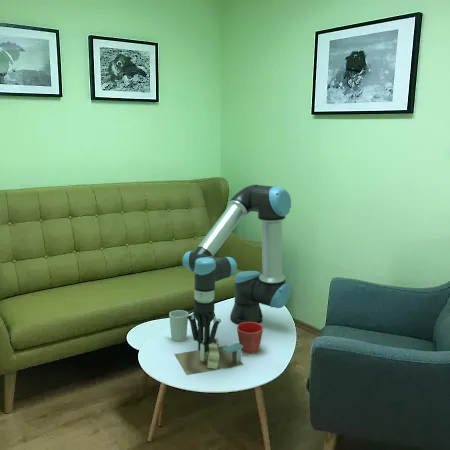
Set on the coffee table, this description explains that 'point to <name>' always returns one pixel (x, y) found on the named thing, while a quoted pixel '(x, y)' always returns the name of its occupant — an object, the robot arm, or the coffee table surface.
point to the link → (213, 354)
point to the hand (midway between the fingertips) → (203, 358)
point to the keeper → (234, 352)
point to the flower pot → (250, 336)
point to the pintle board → (195, 365)
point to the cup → (178, 325)
